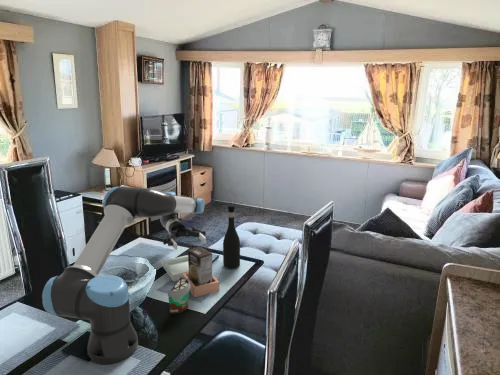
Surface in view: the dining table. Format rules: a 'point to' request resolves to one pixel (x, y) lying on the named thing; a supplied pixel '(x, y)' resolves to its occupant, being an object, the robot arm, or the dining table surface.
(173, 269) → the tray
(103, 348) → the robot arm
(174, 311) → the food container
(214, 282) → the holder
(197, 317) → the dining table surface
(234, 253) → the wine bottle
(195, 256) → the coffee box
